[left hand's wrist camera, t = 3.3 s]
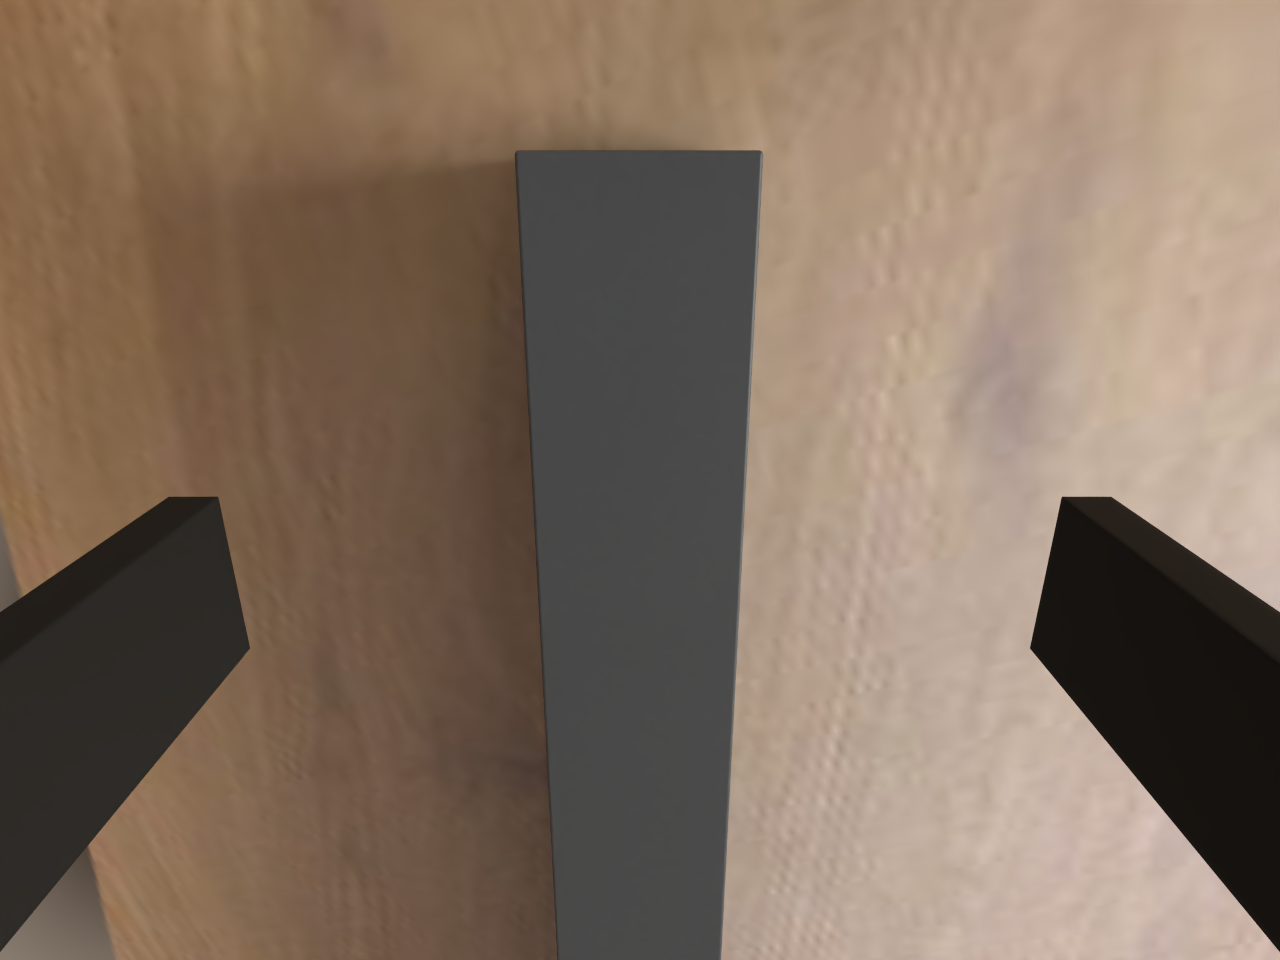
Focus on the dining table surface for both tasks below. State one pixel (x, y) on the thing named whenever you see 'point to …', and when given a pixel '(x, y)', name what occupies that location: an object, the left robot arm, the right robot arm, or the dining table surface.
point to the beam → (639, 527)
